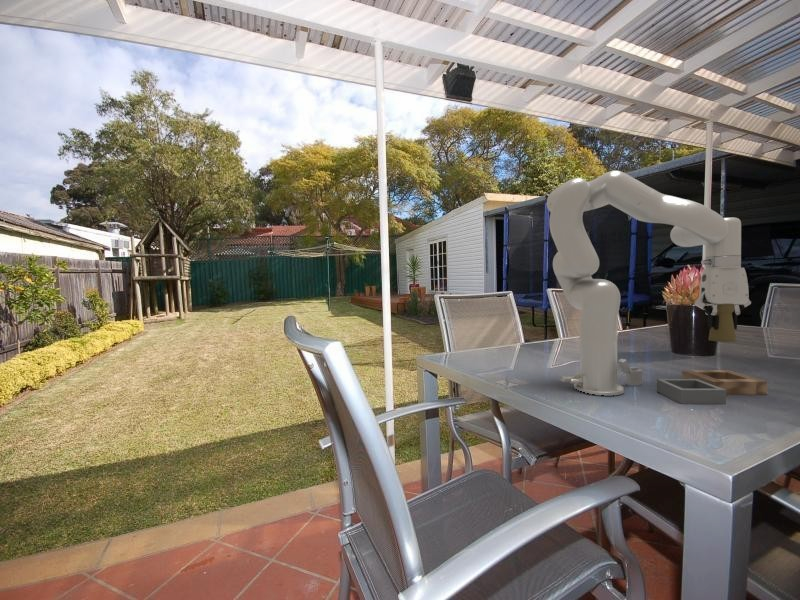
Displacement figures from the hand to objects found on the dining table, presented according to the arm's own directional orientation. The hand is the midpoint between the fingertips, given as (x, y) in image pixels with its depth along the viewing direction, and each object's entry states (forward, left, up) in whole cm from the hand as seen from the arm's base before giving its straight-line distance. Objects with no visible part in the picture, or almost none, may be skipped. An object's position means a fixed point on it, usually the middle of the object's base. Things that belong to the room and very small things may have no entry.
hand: (722, 328), depth 105 cm
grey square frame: (-14, -9, -17) cm, 24 cm away
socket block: (0, 0, -17) cm, 17 cm away
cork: (0, 0, -4) cm, 4 cm away
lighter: (-23, +3, -17) cm, 29 cm away
